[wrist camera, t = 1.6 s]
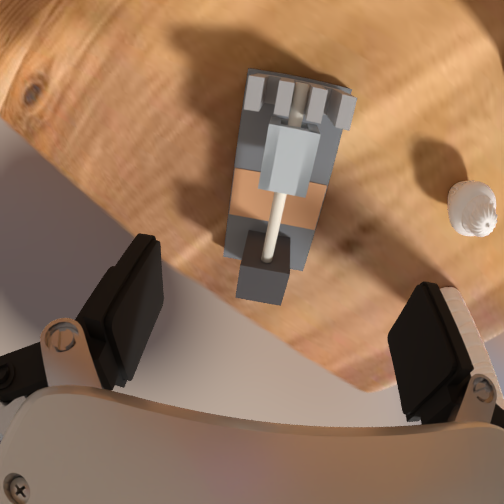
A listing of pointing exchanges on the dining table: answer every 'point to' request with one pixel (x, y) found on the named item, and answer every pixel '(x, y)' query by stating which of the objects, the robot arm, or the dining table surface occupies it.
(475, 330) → the water bottle
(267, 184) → the sleeve
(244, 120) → the board
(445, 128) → the dining table surface
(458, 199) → the white rounded ridged piece
